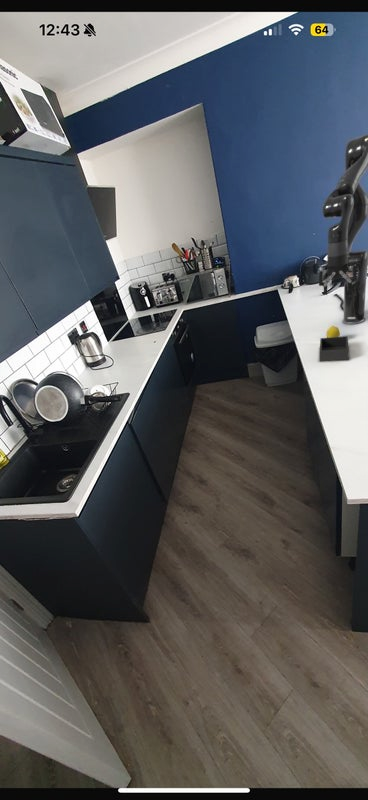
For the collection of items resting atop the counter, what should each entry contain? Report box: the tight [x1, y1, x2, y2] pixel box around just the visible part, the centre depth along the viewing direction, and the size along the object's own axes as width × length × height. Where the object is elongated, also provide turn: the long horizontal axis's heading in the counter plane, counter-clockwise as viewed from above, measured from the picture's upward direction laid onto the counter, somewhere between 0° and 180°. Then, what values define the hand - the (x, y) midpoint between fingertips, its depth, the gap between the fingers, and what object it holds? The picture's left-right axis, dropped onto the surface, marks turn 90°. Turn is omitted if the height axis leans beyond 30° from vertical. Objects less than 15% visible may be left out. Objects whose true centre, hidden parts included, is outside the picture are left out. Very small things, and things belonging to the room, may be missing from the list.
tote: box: [319, 335, 350, 362], centre depth 134 cm, size 13×11×5 cm
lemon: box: [326, 325, 341, 338], centre depth 142 cm, size 6×6×8 cm
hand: (337, 292), depth 134 cm, fingers open, 8 cm apart
